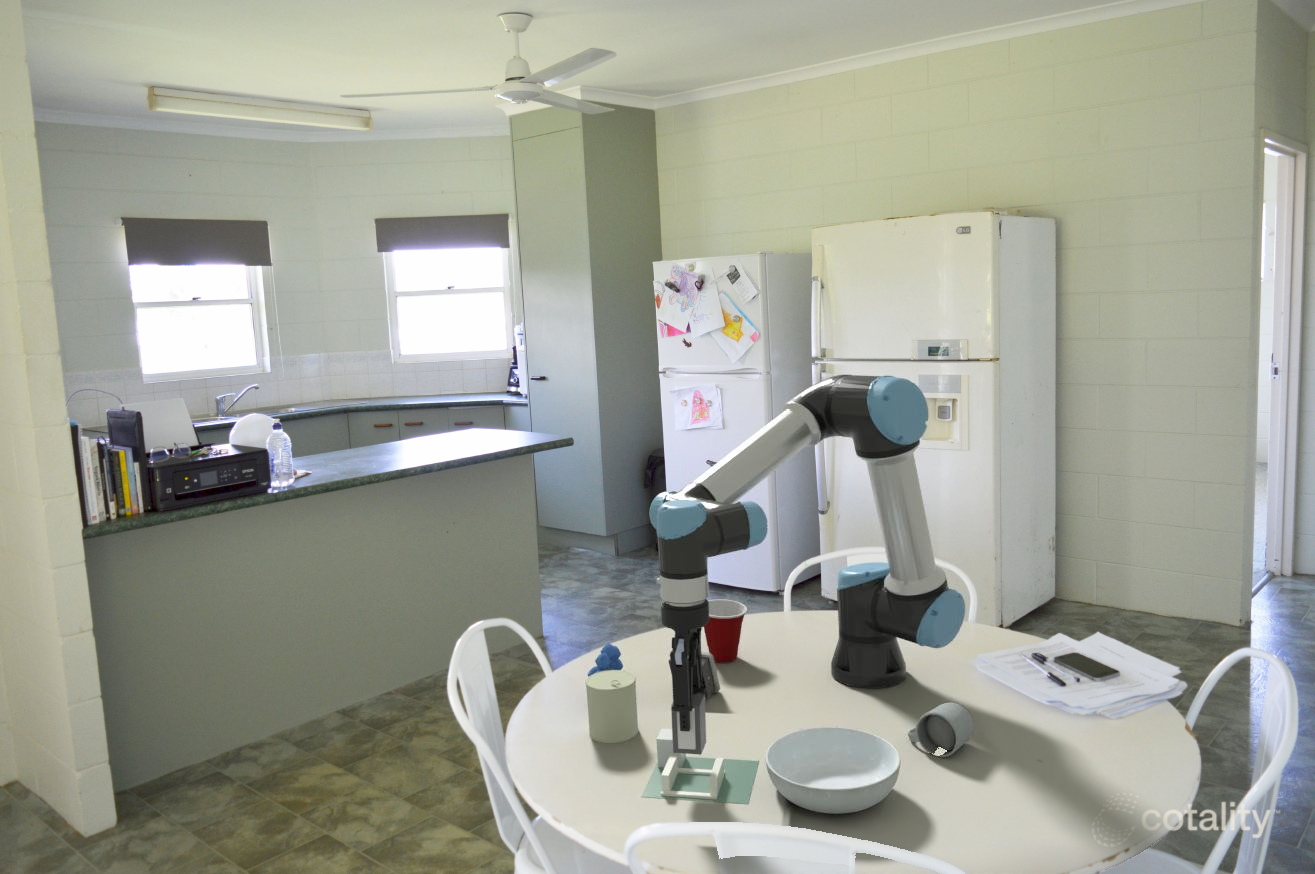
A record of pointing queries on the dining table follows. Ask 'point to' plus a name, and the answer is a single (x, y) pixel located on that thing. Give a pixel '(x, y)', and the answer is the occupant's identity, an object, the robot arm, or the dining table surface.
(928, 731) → the ceramic mug
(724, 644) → the plastic cup
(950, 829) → the dining table surface
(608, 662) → the grapes
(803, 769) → the serving bowl
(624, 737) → the can
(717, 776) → the board
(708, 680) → the electrical switch
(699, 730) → the plug
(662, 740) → the plug
